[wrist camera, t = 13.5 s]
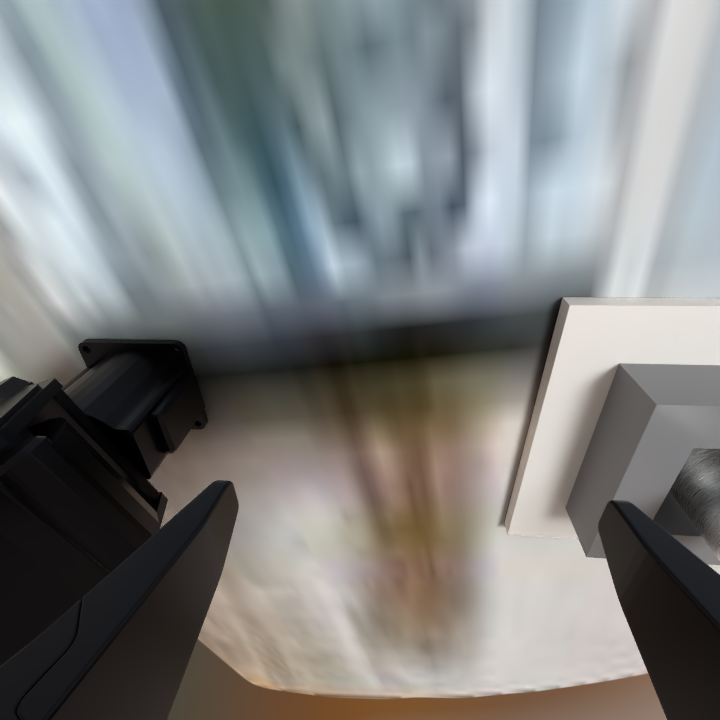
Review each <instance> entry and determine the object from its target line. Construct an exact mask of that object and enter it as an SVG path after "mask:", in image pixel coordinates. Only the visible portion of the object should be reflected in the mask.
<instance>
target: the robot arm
mask: <svg viewBox="0 0 720 720" xmlns="http://www.w3.org/2000/svg"><path fill="white" fill-rule="evenodd" d="M88 347H89V348H90V349H89V348H88ZM78 348H79V351H80V353H81V355H82V357H83V359H84V362H85V364H86V366H87V368H86V369H85V370H84V371H82V372H81V373H80V374H79V375H77V376H76V377H75V378H74V379H72V380H71V381H70V382H68V383H67V384H66V385H65V386H62V385H61V384H60V383H59V382H58V381H57V380H56V379H55V378H52V379H49V380H46V381H44V382H41V383H39V384H33V383H32V381H31V382H27V381H25V380H22V379H19V378H16V377H10V378H8V379H5V380H3V381H2V382H0V720H167V719H168V716H169V714H170V711H171V708H172V706H173V703H174V700H175V698H176V695H177V692H178V690H179V687H180V684H181V681H182V679H183V676H184V674H185V671H186V668H187V665H188V663H189V660H190V657H191V655H192V652H193V649H194V647H195V644H196V641H197V639H198V636H199V633H200V631H201V628H202V625H203V623H204V620H205V617H206V615H207V612H208V609H209V606H210V604H211V601H212V598H213V596H214V593H215V590H216V588H217V585H218V582H219V579H220V577H221V574H222V570H223V567H224V563H225V560H226V556H227V552H228V548H229V544H230V540H231V536H232V533H233V529H234V525H235V521H236V517H237V513H238V506H239V505H238V499H237V496H236V492H235V489H234V485H233V483H232V482H231V481H220V480H218V481H215V482H213V483H212V484H211V485H209V486H208V487H207V488H206V489H205V490H204V491H203V492H201V493H200V494H199V495H198V496H197V497H196V498H195V499H193V500H192V501H191V502H190V503H189V504H188V505H187V506H186V507H184V508H183V509H182V510H181V511H180V512H179V513H178V514H176V515H175V516H174V517H173V518H172V519H171V520H170V521H169V522H167V523H166V524H165V525H164V526H163V527H162V528H161V529H160V526H161V523H162V519H163V515H164V512H165V508H166V504H167V501H168V499H167V498H166V497H165V495H164V494H163V493H162V492H158V491H157V490H156V489H155V488H154V487H153V485H152V484H151V483H150V482H149V481H148V480H147V479H150V478H151V477H152V475H153V474H154V472H155V471H156V470H157V468H158V467H159V465H160V464H161V462H162V461H163V459H164V458H165V457H166V455H167V454H168V453H174V452H175V451H176V450H177V448H178V447H179V445H180V444H181V443H182V441H183V440H184V438H185V437H186V435H187V434H188V432H189V431H190V429H203V428H204V427H205V426H206V424H207V422H208V420H207V416H206V413H205V410H204V408H205V405H204V402H203V398H202V395H201V392H200V388H199V385H198V381H197V378H196V376H195V375H194V373H193V369H192V366H191V363H190V359H189V356H188V353H187V349H186V347H185V345H184V344H183V343H182V342H180V341H174V340H110V339H86V340H84V341H83V342H81V343H80V344H79V346H78ZM174 348H177V349H178V350H179V352H178V351H176V350H175V349H174ZM198 421H200V422H198ZM598 531H599V535H600V538H601V542H602V545H603V549H604V552H605V555H606V559H607V562H608V566H609V569H610V572H611V576H612V579H613V583H614V586H615V589H616V593H617V596H618V599H619V602H620V604H621V607H622V609H623V612H624V615H625V617H626V619H627V622H628V624H629V627H630V629H631V632H632V634H633V637H634V639H635V642H636V644H637V647H638V649H639V651H640V654H641V656H642V659H643V661H644V664H645V666H646V669H647V671H648V674H649V676H650V678H651V681H652V683H653V686H654V688H655V691H656V693H657V696H658V698H659V701H660V703H661V706H662V708H663V710H664V713H665V715H666V718H667V720H720V575H719V574H718V573H717V572H716V571H714V570H713V569H712V568H711V567H710V566H708V565H707V564H706V563H705V562H703V561H702V560H701V559H700V558H699V557H697V556H696V555H695V554H694V553H692V552H691V551H690V550H689V549H688V548H686V547H685V546H684V545H683V544H682V543H680V542H679V541H678V540H677V539H675V538H674V537H673V536H672V535H671V534H669V533H668V532H667V531H666V530H664V529H663V528H662V527H661V526H660V525H658V524H657V523H656V522H655V521H653V520H652V519H651V518H650V517H649V516H647V515H646V514H645V513H644V512H643V511H641V510H640V509H639V508H638V507H636V506H635V505H634V504H633V503H631V502H629V501H625V500H610V501H608V502H607V504H606V506H605V509H604V511H603V513H602V515H601V517H600V519H599V522H598Z"/></svg>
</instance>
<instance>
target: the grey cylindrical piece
mask: <svg viewBox="0 0 720 720" xmlns="http://www.w3.org/2000/svg"><path fill="white" fill-rule="evenodd" d="M669 491H670V492H671V494H672V495H673V497H674V498H675V499H676V501H677V502H678V504H679V505H680V506H681V508H682V509H683V511H684V512H685V513H686V515H687V516H688V518H689V519H690V520H691V522H692V523H693V525H694V526H695V527H696V529H697V530H698V532H699V533H700V534H701V536H702V537H703V539H704V540H705V542H706V543H707V544H708V546H709V547H710V549H711V550H712V551H713V553H714V554H715V556H716V557H717V558H718V560H719V561H720V449H704V448H693V450H692V451H691V453H690V455H689V457H688V459H687V460H686V462H685V464H684V466H683V467H682V469H681V471H680V473H679V475H678V476H677V478H676V480H675V482H674V483H673V485H672V487H671V489H670V490H669Z"/></svg>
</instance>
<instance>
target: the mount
mask: <svg viewBox="0 0 720 720" xmlns="http://www.w3.org/2000/svg"><path fill="white" fill-rule="evenodd" d="M693 448H704V449H720V298H590V297H563V298H562V302H561V305H560V309H559V313H558V317H557V321H556V325H555V329H554V333H553V337H552V340H551V344H550V348H549V352H548V356H547V360H546V364H545V368H544V371H543V375H542V379H541V383H540V387H539V391H538V395H537V399H536V403H535V406H534V410H533V414H532V418H531V422H530V426H529V430H528V434H527V437H526V441H525V445H524V449H523V453H522V457H521V461H520V465H519V469H518V472H517V476H516V480H515V484H514V488H513V492H512V496H511V500H510V503H509V507H508V511H507V515H506V519H505V527H506V531H507V534H508V535H517V536H535V537H553V538H570V539H579V541H580V543H581V546H582V548H583V550H584V553H585V555H586V557H594V558H606V555H605V552H604V549H603V545H602V542H601V538H600V535H599V531H598V522H599V519H600V517H601V515H602V513H603V511H604V509H605V506H606V504H607V502H608V501H610V500H625V501H629V502H631V503H633V504H634V505H635V506H636V507H638V508H639V509H640V510H641V511H643V512H644V513H645V514H646V515H647V516H649V517H650V518H651V519H652V520H653V521H655V522H656V523H657V524H658V525H660V526H661V527H662V528H663V529H664V530H666V531H667V532H668V533H669V534H671V535H672V536H673V537H674V538H675V539H677V540H678V541H679V542H680V543H682V544H683V545H684V546H685V547H686V548H688V549H689V550H690V551H691V552H692V553H694V554H695V555H696V556H697V557H699V558H700V559H701V560H702V561H703V562H705V563H706V564H711V565H720V561H719V560H718V558H717V557H716V556H715V554H714V553H713V551H712V550H711V549H710V547H709V546H708V544H707V543H706V542H705V540H704V539H703V537H702V536H701V534H700V533H699V532H698V530H697V529H696V527H695V526H694V525H693V523H692V522H691V520H690V519H689V518H688V516H687V515H686V513H685V512H684V511H683V509H682V508H681V506H680V505H679V504H678V502H677V501H676V499H675V498H674V497H673V495H672V494H671V492H670V491H669V490H670V489H671V487H672V485H673V483H674V482H675V480H676V478H677V476H678V475H679V473H680V471H681V469H682V467H683V466H684V464H685V462H686V460H687V459H688V457H689V455H690V453H691V451H692V450H693Z"/></svg>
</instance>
